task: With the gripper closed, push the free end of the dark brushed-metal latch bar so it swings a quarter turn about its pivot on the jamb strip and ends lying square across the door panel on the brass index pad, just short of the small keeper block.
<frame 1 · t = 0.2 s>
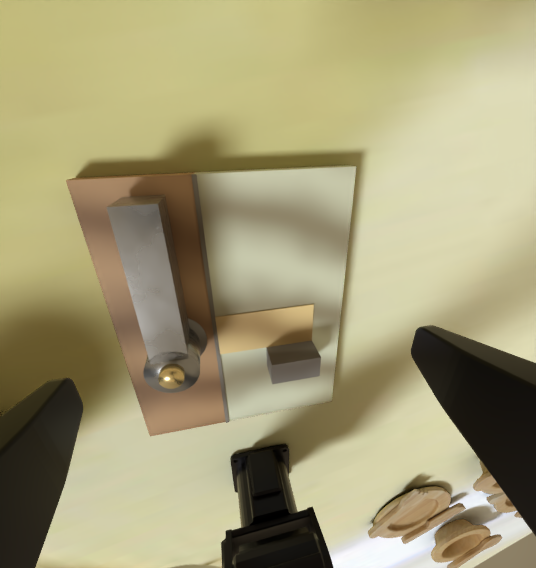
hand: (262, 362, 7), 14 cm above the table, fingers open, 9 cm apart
door mock-up board: (226, 315, 23), on the table
tableware set: (468, 493, 49), on the table
latch bar: (161, 304, 18), point 3 cm above the table, hinge at 0.0°
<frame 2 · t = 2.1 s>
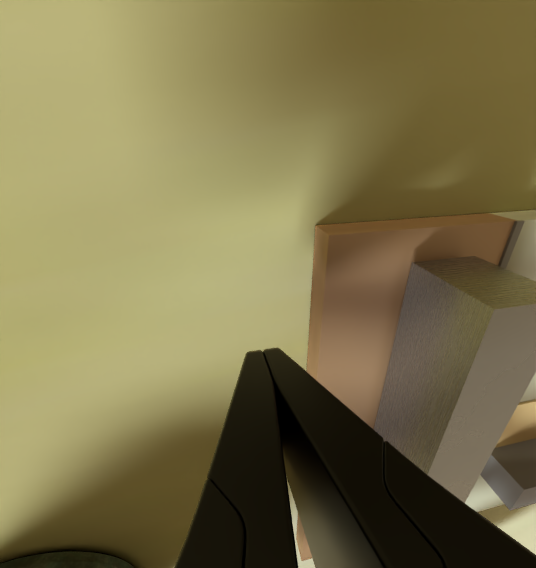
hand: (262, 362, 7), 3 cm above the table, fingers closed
door mock-up board: (438, 407, 16), on the table
latch bar: (434, 433, 11), point 3 cm above the table, hinge at 0.0°
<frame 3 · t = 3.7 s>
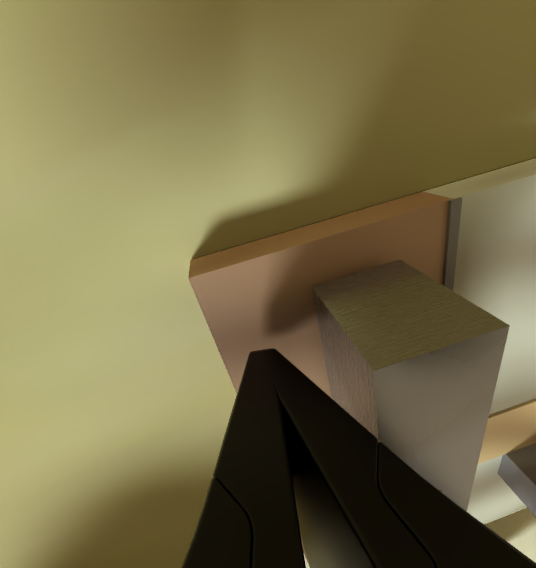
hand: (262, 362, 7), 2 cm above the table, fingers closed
door mock-up board: (434, 415, 14), on the table
latch bar: (399, 478, 9), point 3 cm above the table, hinge at 0.1°, touching gripper
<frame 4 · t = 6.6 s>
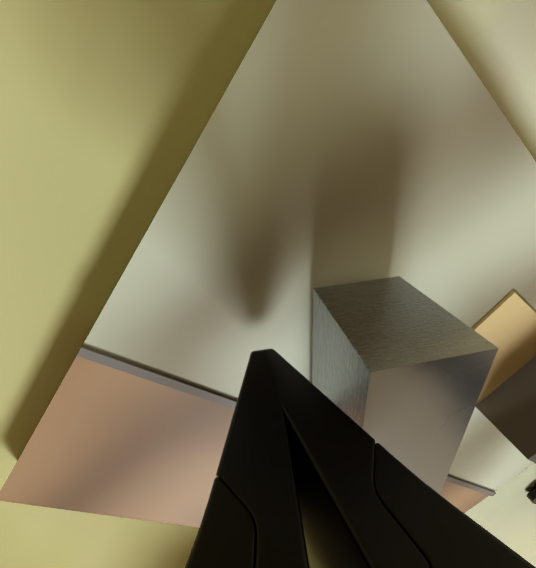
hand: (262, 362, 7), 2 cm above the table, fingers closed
door mock-up board: (365, 407, 12), on the table
latch bar: (366, 489, 9), point 3 cm above the table, hinge at 50.4°, touching gripper
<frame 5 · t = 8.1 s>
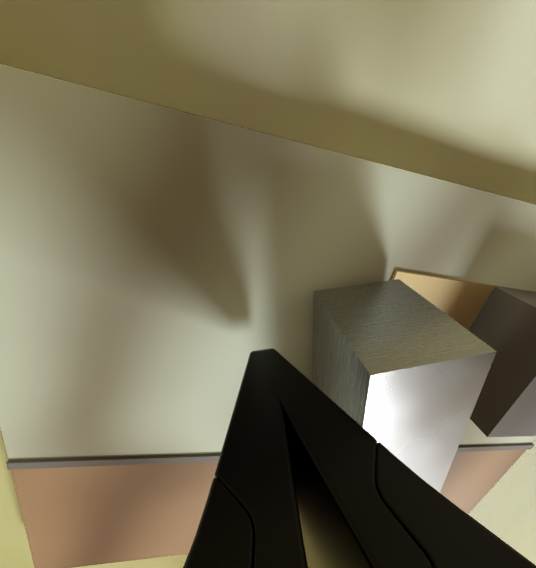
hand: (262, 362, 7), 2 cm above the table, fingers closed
door mock-up board: (329, 409, 12), on the table
latch bar: (365, 490, 9), point 3 cm above the table, hinge at 73.8°, touching gripper
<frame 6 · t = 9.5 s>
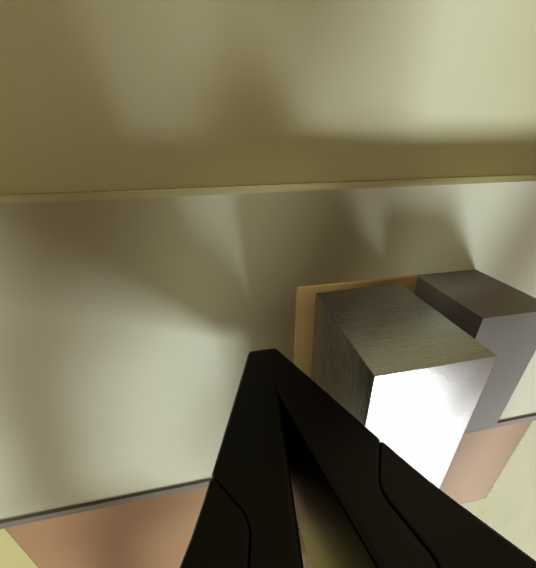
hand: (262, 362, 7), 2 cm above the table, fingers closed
door mock-up board: (301, 418, 12), on the table
latch bar: (361, 493, 9), point 3 cm above the table, hinge at 89.0°, touching gripper
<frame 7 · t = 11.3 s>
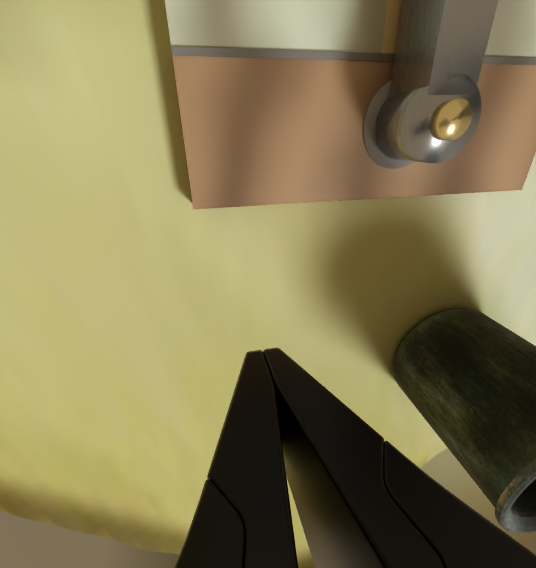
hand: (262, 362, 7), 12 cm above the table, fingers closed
mug: (444, 356, 28), on the table
door mock-up board: (384, 40, 15), on the table
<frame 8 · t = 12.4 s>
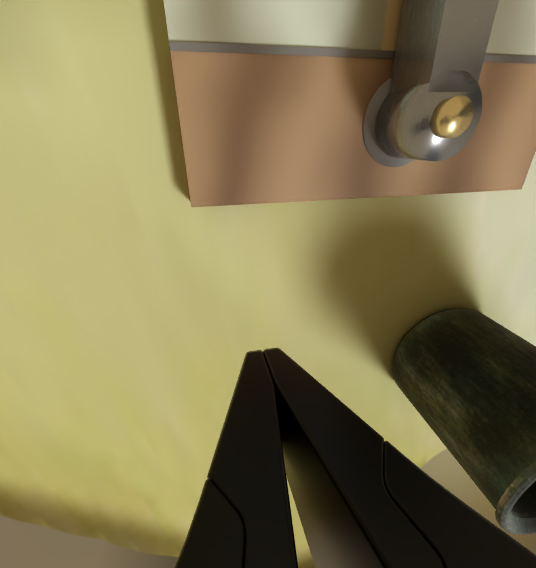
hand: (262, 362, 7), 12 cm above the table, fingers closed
mug: (444, 357, 28), on the table
door mock-up board: (384, 37, 15), on the table
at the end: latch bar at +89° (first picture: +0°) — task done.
